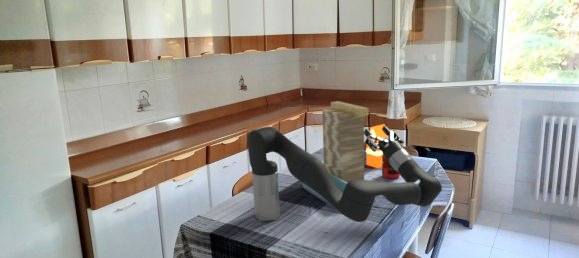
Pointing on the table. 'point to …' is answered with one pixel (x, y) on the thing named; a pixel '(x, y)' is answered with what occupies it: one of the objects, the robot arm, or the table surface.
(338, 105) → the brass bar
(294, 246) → the table surface
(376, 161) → the orange juice
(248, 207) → the table surface
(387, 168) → the canned food
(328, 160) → the birch stand
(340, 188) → the open teal box
